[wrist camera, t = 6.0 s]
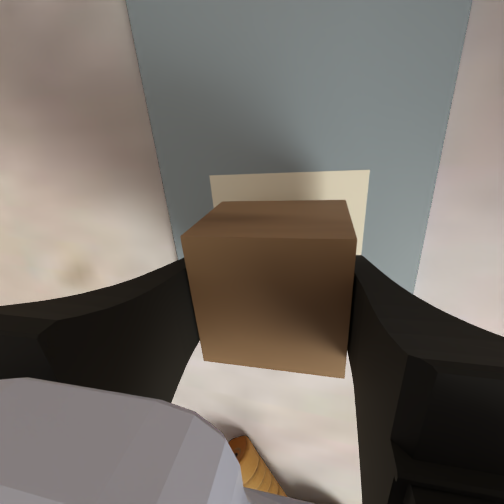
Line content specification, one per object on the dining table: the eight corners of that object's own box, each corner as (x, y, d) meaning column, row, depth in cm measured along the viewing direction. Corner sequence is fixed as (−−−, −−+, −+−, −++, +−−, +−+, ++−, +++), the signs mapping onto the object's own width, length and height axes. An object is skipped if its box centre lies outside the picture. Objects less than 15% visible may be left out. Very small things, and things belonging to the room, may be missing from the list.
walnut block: (337, 307, 13) (344, 378, 9) (233, 299, 14) (203, 360, 10) (345, 199, 11) (357, 239, 7) (222, 201, 12) (180, 236, 8)
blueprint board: (399, 346, 15) (401, 352, 15) (195, 326, 18) (192, 331, 18) (594, -648, 5) (615, -707, 5) (63, -347, 8) (50, -370, 8)
